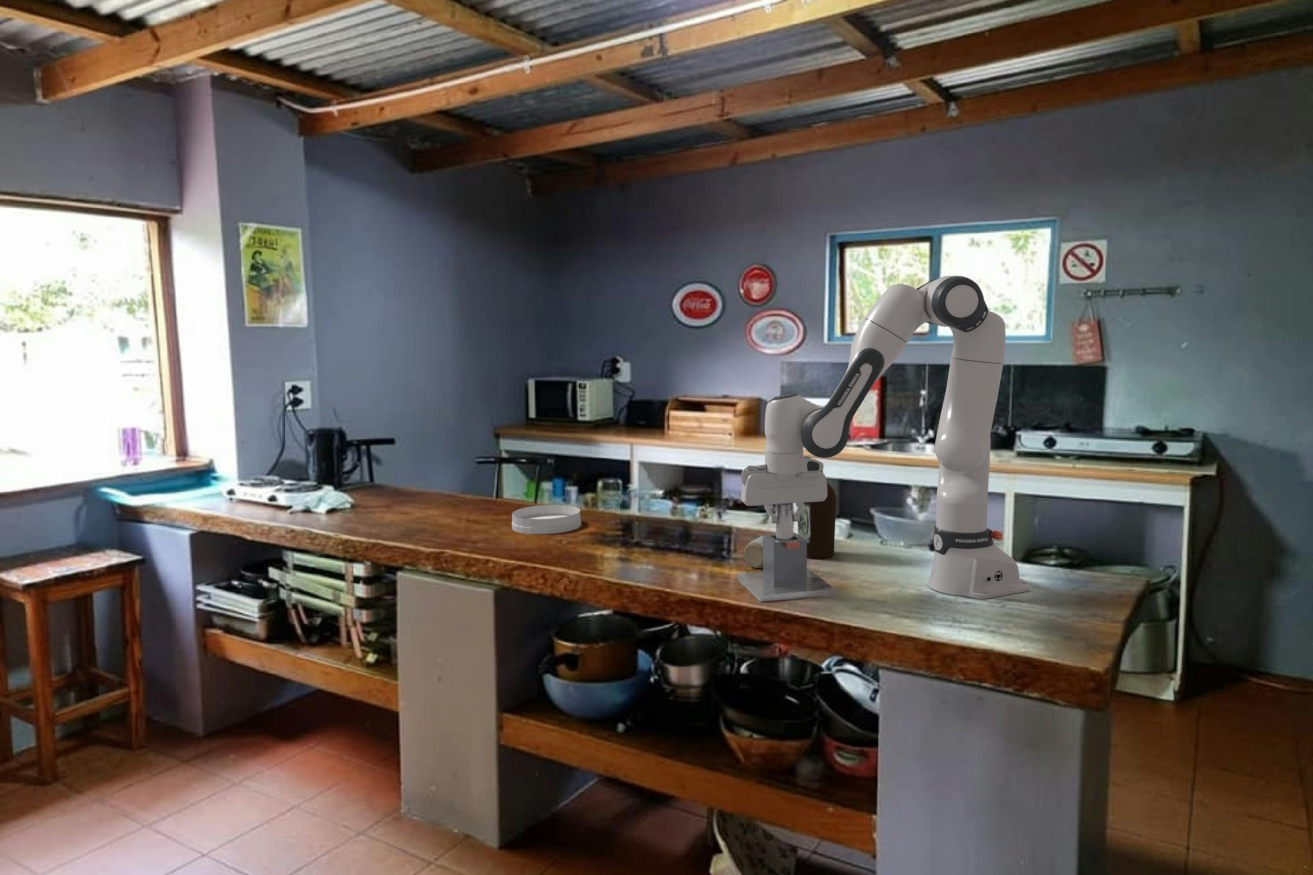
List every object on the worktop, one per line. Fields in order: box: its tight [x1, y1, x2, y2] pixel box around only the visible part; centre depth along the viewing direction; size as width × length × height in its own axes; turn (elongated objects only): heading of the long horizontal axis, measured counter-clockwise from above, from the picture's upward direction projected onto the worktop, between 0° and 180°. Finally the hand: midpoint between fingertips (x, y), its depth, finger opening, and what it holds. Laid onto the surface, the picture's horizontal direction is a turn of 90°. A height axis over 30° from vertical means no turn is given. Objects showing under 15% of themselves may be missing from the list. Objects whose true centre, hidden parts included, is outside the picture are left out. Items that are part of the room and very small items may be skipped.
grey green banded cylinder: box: [775, 503, 794, 541], centre depth 194 cm, size 4×4×18 cm
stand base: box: [736, 531, 837, 603], centre depth 195 cm, size 18×18×12 cm
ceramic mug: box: [743, 535, 763, 569], centre depth 213 cm, size 11×8×8 cm
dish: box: [511, 504, 582, 535], centre depth 265 cm, size 22×22×5 cm
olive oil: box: [797, 469, 838, 560], centre depth 222 cm, size 11×11×25 cm
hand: (784, 521), depth 194 cm, fingers closed on grey green banded cylinder, 4 cm apart
